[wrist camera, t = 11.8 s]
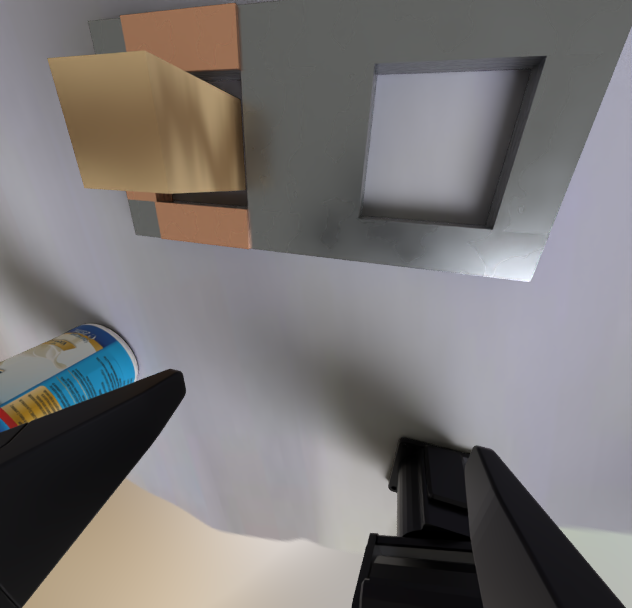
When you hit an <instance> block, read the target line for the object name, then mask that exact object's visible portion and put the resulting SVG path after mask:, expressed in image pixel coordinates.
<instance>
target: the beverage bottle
mask: <svg viewBox="0 0 632 608" xmlns="http://www.w3.org/2000/svg"><path fill="white" fill-rule="evenodd" d="M137 376H138V365H137V361H136V358H135V356H134V354H133V352H132V350H131V349H130V347H129V346H128V345H127V344H126V342H125V341H124V340H123V339H122V338H121V337H120V336H119V335H117V334H116V333H115V332H113V331H112V330H110V329H108V328H106V327H104V326H101V325H98V324H83V325H80V326H78V327H76V328H74V329H71V330H70V331H68V332H66V333H64V334H62V335H60V336H58V337H56V338H54V339H52V340H49V341H47V342H45V343H43V344H40V345H38V346H36V347H34V348H31V349H29V350H27V351H25V352H22V353H20V354H18V355H16V356H13V357H11V358H9V359H6V360H4V361H2V362H0V432H3V431H5V430H8V429H11V428H13V427H16V426H19V425H21V424H24V423H29V422H30V421H32V420H35V419H37V418H40V417H43V416H45V415H48V414H51V413H53V412H56V411H59V410H61V409H64V408H67V407H69V406H72V405H75V404H77V403H80V402H83V401H85V400H88V399H91V398H93V397H96V396H99V395H101V394H104V393H107V392H109V391H112V390H115V389H117V388H120V387H123V386H125V385H128V384H131V383H133V382H135V381H136V379H137Z"/></svg>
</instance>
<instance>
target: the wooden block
mask: <svg viewBox="0 0 632 608" xmlns="http://www.w3.org/2000/svg"><path fill="white" fill-rule="evenodd" d="M47 59H48V62H49V66H50V69H51V73H52V76H53V80H54V83H55V87H56V90H57V94H58V97H59V101H60V104H61V107H62V111H63V114H64V118H65V121H66V125H67V128H68V132H69V135H70V139H71V142H72V146H73V149H74V153H75V156H76V160H77V163H78V167H79V170H80V174H81V177H82V181H83V184H84V188H91V189H106V190H121V191H136V192H151V193H166V194H174V193H196V192H217V191H238V190H246V181H245V164H244V147H243V130H242V114H241V100H240V99H238V98H236V97H234V96H232V95H230V94H228V93H226V92H224V91H222V90H220V89H218V88H216V87H215V86H213V85H211V84H209V83H207V82H205V81H203V80H201V79H199V78H197V77H195V76H193V75H191V74H189V73H187V72H186V71H184V70H182V69H180V68H178V67H176V66H174V65H172V64H170V63H168V62H166V61H164V60H162V59H160V58H158V57H157V56H155V55H153V54H151V53H149V52H147V51H133V52H121V53H108V54H95V55H83V56H70V57H58V58H47Z"/></svg>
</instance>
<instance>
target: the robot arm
mask: <svg viewBox="0 0 632 608" xmlns="http://www.w3.org/2000/svg"><path fill="white" fill-rule="evenodd" d="M185 393H186V387H185V382H184V377H183V373H182V372H181V371H178V370H174V369H168V370H165V371H162V372H160V373H157V374H155V375H152V376H149V377H147V378H144V379H141V380H139V381H136V382H133V383H131V384H128V385H125V386H123V387H120V388H117V389H115V390H112V391H109V392H107V393H104V394H101V395H99V396H96V397H93V398H91V399H88V400H85V401H83V402H80V403H77V404H75V405H72V406H69V407H67V408H64V409H61V410H59V411H56V412H53V413H51V414H48V415H45V416H43V417H40V418H37V419H35V420H32V421H30V422H29V423H24V424H21V425H19V426H16V427H13V428H11V429H8V430H5V431H3V432H0V608H22V607H23V606H24V605H25V603H26V602H27V601H28V599H29V598H30V597H31V596H32V595H33V593H34V592H35V591H36V590H37V588H38V587H39V586H40V584H41V583H42V582H43V581H44V579H45V578H46V577H47V575H48V574H49V573H50V572H51V571H52V569H53V568H54V567H55V566H56V564H57V563H58V562H59V560H60V559H61V558H62V557H63V555H64V554H65V553H66V552H67V551H68V549H69V548H70V547H71V546H72V544H73V543H74V542H75V541H76V539H77V538H78V537H79V535H80V534H81V533H82V532H83V530H84V529H85V528H86V527H87V525H88V524H89V523H90V522H91V520H92V519H93V518H94V517H95V515H96V514H97V513H98V512H99V510H100V509H101V508H102V506H103V505H104V504H105V503H106V502H107V500H108V499H109V498H110V496H111V495H112V494H113V493H114V491H115V490H116V489H117V488H118V486H119V485H120V484H121V483H122V481H123V480H124V479H125V478H126V476H127V475H128V474H129V473H130V471H131V470H132V469H133V468H134V466H135V465H136V464H137V463H138V461H139V460H140V459H141V458H142V456H143V455H144V454H145V453H146V451H147V450H148V449H149V448H150V446H151V445H152V444H153V442H154V441H155V440H156V438H157V437H158V436H159V434H160V433H161V431H162V430H163V428H164V427H165V425H166V424H167V422H168V421H169V419H170V418H171V416H172V415H173V413H174V412H175V410H176V409H177V407H178V406H179V404H180V403H181V401H182V400H183V398H184V396H185ZM388 488H389V489H390V490H391V491H393V492H396V493H397V536H385V535H378V533H370V536H369V540H368V544H367V546H366V549H365V553H364V557H363V562H362V565H361V570H360V574H359V578H358V581H357V586H356V590H355V594H354V598H353V602H352V608H626V607H625V606H624V605H623V604H622V603H621V601H620V600H619V599H618V598H617V597H616V596H615V594H614V593H613V592H612V591H611V589H610V588H609V587H608V586H607V585H606V584H605V582H604V581H603V580H602V579H601V578H600V576H599V575H598V574H597V573H596V572H595V570H593V568H592V567H591V566H590V564H589V563H588V562H587V561H586V560H585V559H584V557H583V556H582V555H581V554H580V553H579V551H578V550H577V549H576V548H575V547H574V545H573V544H572V543H571V542H570V541H569V540H568V538H567V537H566V536H565V535H564V534H563V532H562V531H561V530H560V529H559V528H558V526H557V525H556V524H555V523H554V522H553V520H552V519H551V518H550V517H549V516H548V515H547V513H546V512H545V511H544V510H543V509H542V507H541V506H540V505H539V504H538V503H537V501H536V500H535V499H534V498H533V497H532V495H531V494H530V493H529V492H528V491H527V490H526V488H525V487H524V486H523V485H522V484H521V482H520V481H519V480H518V479H517V478H516V476H515V475H514V474H513V473H512V472H511V471H510V469H509V468H508V467H507V466H506V465H505V463H504V462H503V461H502V460H501V459H500V457H499V456H498V455H497V454H496V453H495V452H494V451H493V450H492V449H489V448H485V447H481V446H474V447H473V449H472V451H471V453H470V454H466V453H462V452H458V451H455V450H451V449H447V448H443V447H439V446H435V445H431V444H427V443H424V442H420V441H416V440H412V439H408V438H401V439H399V442H398V446H397V450H396V454H395V458H394V462H393V466H392V470H391V474H390V478H389V484H388Z"/></svg>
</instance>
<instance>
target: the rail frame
mask: <svg viewBox="0 0 632 608" xmlns="http://www.w3.org/2000/svg"><path fill="white" fill-rule="evenodd" d="M88 23H89V28H90V32H91V37H92V41H93V46H94V50H95V54H108V53H121V52H133V51H147V52H149V53H151V54H153V55H155V56H157V57H158V58H160V59H162V60H164V61H166V62H168V63H170V64H172V65H174V66H176V67H178V68H180V69H182V70H184V71H186V72H187V73H189V74H191V75H193V76H195V77H197V78H199V79H201V80H203V81H222V80H241V84H242V103H243V122H244V141H245V159H246V178H247V197H248V207H246V206H234V205H222V204H209V203H197V202H185V201H173V199H172V194H166V193H151V192H136V191H126V193H127V197H128V202H129V206H130V211H131V215H132V220H133V224H134V229H135V233H136V235H142V236H150V237H158V238H161V239H169V240H177V241H186V242H194V243H202V244H210V245H219V246H227V247H235V248H244V249H259V250H267V251H275V252H284V253H292V254H300V255H309V256H317V257H325V258H334V259H342V260H350V261H359V262H367V263H375V264H384V265H392V266H401V267H409V268H417V269H426V270H434V271H442V272H451V273H459V274H467V275H476V276H484V277H492V278H501V279H509V280H517V281H526V282H530V281H531V279H532V276H533V274H534V271H535V269H536V266H537V264H538V261H539V259H540V256H541V254H542V251H543V249H544V246H545V244H546V241H547V239H548V236H549V234H550V231H551V228H552V226H553V223H554V221H555V218H556V216H557V213H558V211H559V208H560V206H561V203H562V201H563V198H564V196H565V193H566V191H567V188H568V186H569V183H570V181H571V178H572V175H573V173H574V170H575V168H576V165H577V163H578V160H579V158H580V155H581V153H582V150H583V148H584V145H585V143H586V140H587V138H588V135H589V133H590V130H591V128H592V125H593V122H594V120H595V117H596V115H597V112H598V110H599V107H600V105H601V102H602V100H603V97H604V95H605V92H606V90H607V87H608V85H609V82H610V80H611V77H612V75H613V72H614V69H615V67H616V64H617V62H618V59H619V57H620V54H621V52H622V49H623V47H624V44H625V42H626V39H627V37H628V34H629V32H630V29H631V27H632V0H282V1H272V2H263V3H254V4H244V5H237V4H236V3H230V4H220V5H211V6H202V7H193V8H184V9H175V10H166V11H157V12H148V13H138V14H129V15H120V18H114V19H105V20H95V21H88ZM519 69H532V70H531V73H530V77H529V80H528V83H527V87H526V90H525V93H524V97H523V100H522V104H521V107H520V110H519V114H518V117H517V120H516V124H515V127H514V131H513V134H512V137H511V141H510V144H509V147H508V151H507V154H506V158H505V161H504V164H503V168H502V171H501V174H500V178H499V181H498V185H497V188H496V191H495V195H494V198H493V201H492V205H491V208H490V211H489V215H488V218H487V222H486V225H485V226H481V225H468V224H456V223H444V222H431V221H419V220H407V219H394V218H382V217H370V216H361V215H362V206H363V197H364V188H365V179H366V170H367V161H368V152H369V143H370V134H371V126H372V117H373V108H374V99H375V90H376V81H377V75H384V74H411V73H438V72H465V71H492V70H519Z"/></svg>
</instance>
